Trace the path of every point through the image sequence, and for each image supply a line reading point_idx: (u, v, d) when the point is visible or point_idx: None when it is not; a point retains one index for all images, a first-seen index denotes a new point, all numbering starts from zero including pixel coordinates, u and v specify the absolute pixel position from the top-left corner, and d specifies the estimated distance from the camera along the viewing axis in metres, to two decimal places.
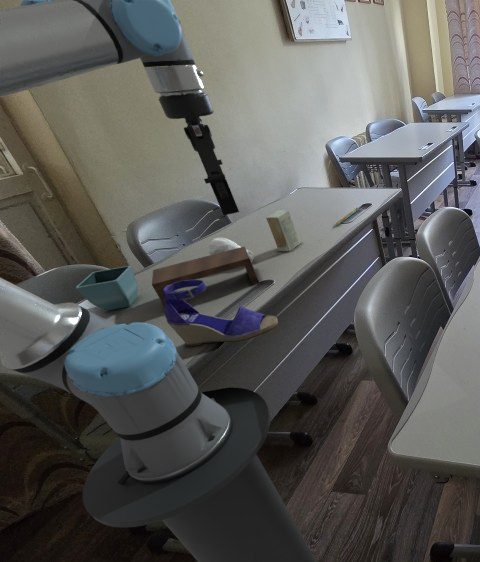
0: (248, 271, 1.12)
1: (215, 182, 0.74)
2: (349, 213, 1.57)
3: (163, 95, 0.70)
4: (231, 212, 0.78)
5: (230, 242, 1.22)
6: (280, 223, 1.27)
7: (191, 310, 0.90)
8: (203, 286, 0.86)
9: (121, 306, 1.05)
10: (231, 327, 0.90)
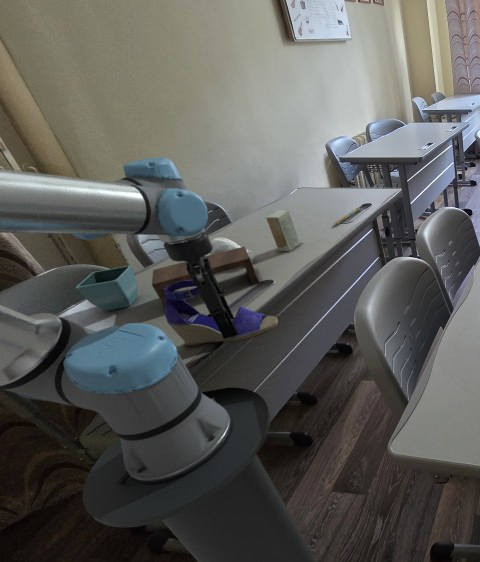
0: (248, 271, 1.12)
1: (216, 315, 0.85)
2: (349, 213, 1.57)
3: (168, 243, 0.79)
4: (230, 335, 0.89)
5: (230, 242, 1.22)
6: (280, 223, 1.27)
7: (191, 310, 0.90)
8: None
9: (121, 306, 1.05)
10: None
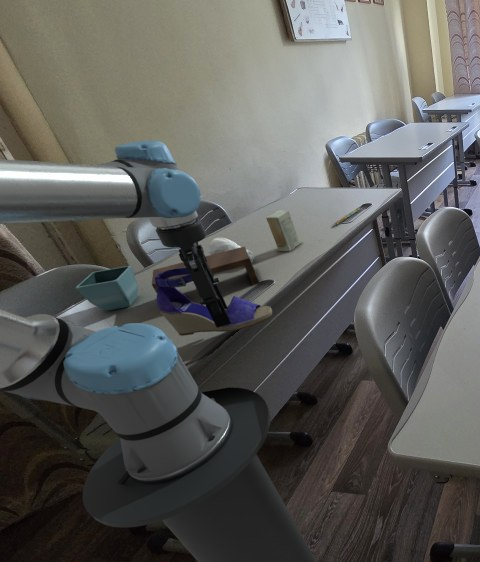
0: (248, 271, 1.12)
1: (209, 303, 0.84)
2: (349, 213, 1.57)
3: (160, 228, 0.77)
4: (223, 324, 0.88)
5: (230, 242, 1.22)
6: (280, 223, 1.27)
7: (184, 299, 0.89)
8: None
9: (121, 306, 1.05)
10: None
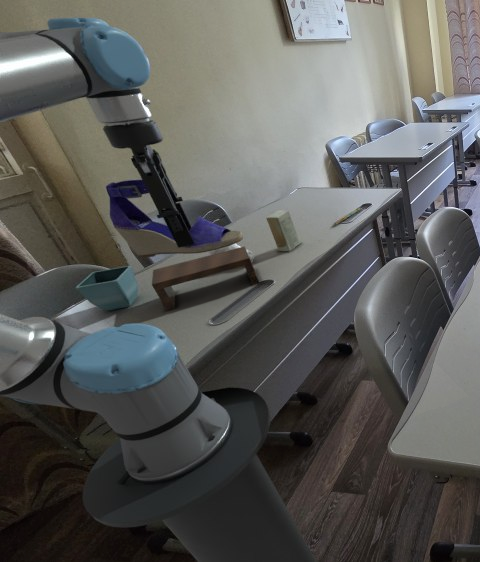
0: (248, 271, 1.12)
1: (167, 217, 0.75)
2: (349, 213, 1.57)
3: (107, 125, 0.69)
4: (186, 244, 0.80)
5: None
6: (280, 223, 1.27)
7: (143, 217, 0.81)
8: None
9: (121, 306, 1.05)
10: None
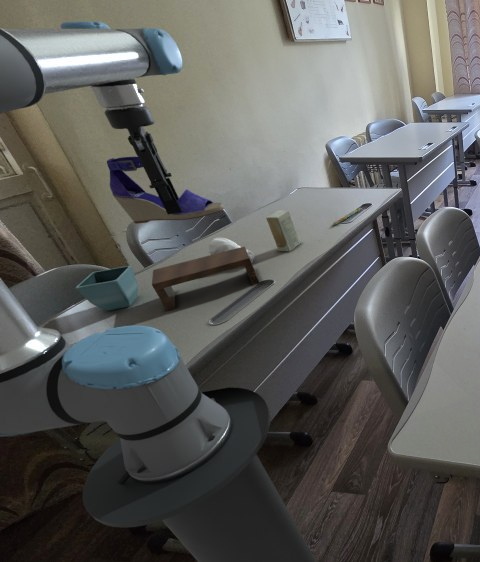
0: (248, 271, 1.12)
1: (158, 187, 0.90)
2: (349, 213, 1.57)
3: (108, 109, 0.83)
4: (174, 212, 0.95)
5: (230, 242, 1.22)
6: (280, 223, 1.27)
7: (137, 189, 0.95)
8: None
9: (121, 306, 1.05)
10: None
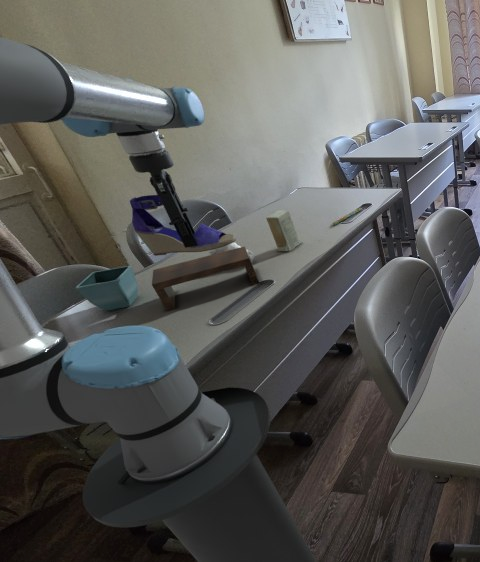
0: (248, 271, 1.12)
1: (177, 224, 0.98)
2: (349, 213, 1.57)
3: (132, 155, 0.91)
4: (191, 245, 1.02)
5: None
6: (280, 223, 1.27)
7: (157, 224, 1.03)
8: None
9: (121, 306, 1.05)
10: None
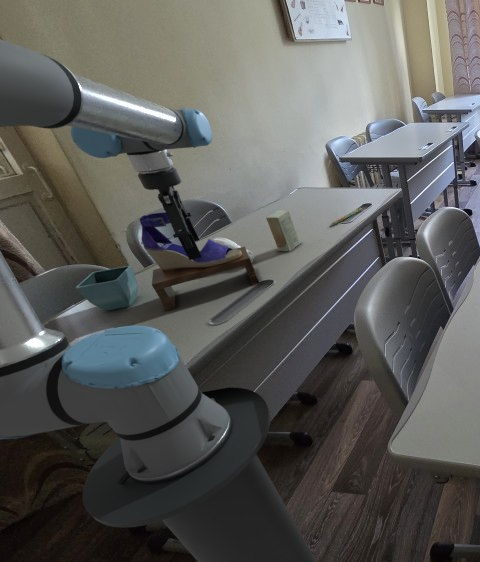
0: (248, 271, 1.12)
1: (181, 236, 0.97)
2: (349, 213, 1.57)
3: (141, 173, 0.93)
4: (195, 257, 1.01)
5: (230, 242, 1.22)
6: (280, 223, 1.27)
7: (165, 240, 1.05)
8: None
9: (121, 306, 1.05)
10: None
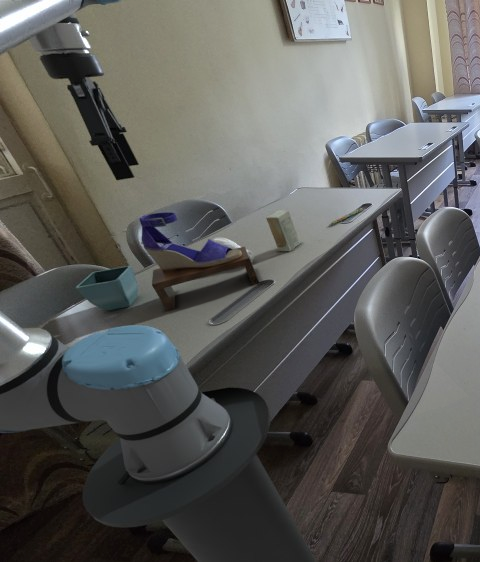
0: (248, 271, 1.12)
1: (102, 144, 0.72)
2: (350, 213, 1.57)
3: (43, 54, 0.69)
4: (125, 177, 0.77)
5: (230, 242, 1.22)
6: (280, 223, 1.27)
7: (165, 240, 1.05)
8: (174, 217, 1.01)
9: (121, 306, 1.05)
10: (200, 254, 1.05)
